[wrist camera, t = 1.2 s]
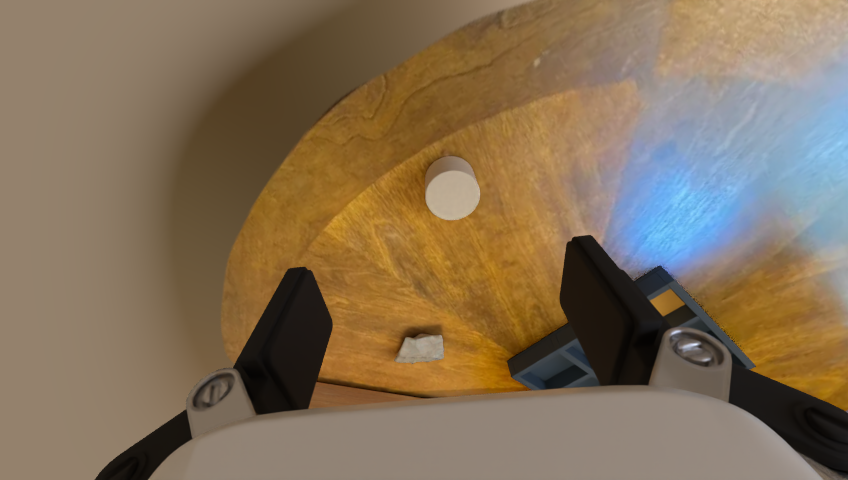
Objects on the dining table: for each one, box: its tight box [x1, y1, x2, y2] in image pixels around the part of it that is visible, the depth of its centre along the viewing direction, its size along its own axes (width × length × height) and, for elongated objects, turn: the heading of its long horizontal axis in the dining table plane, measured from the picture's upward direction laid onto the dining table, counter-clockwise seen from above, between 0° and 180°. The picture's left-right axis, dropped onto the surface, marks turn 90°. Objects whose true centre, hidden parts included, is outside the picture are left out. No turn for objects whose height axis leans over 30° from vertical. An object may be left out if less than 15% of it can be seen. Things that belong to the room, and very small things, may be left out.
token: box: [425, 156, 480, 220], centre depth 27 cm, size 4×4×3 cm
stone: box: [394, 334, 444, 364], centre depth 40 cm, size 6×2×6 cm
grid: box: [507, 266, 756, 390], centre depth 41 cm, size 21×21×2 cm
